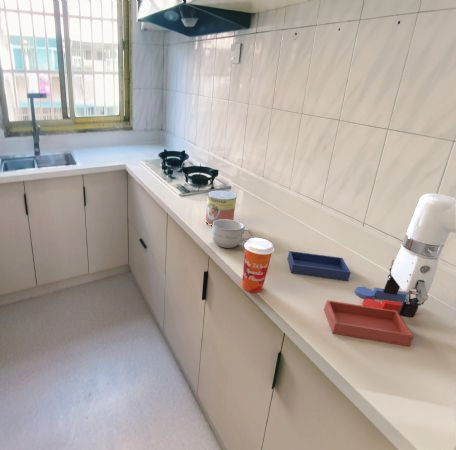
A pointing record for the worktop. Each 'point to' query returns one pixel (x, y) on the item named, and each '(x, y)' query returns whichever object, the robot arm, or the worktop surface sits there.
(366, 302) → the red spoon
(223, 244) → the teacup
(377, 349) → the worktop surface
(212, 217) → the canned food
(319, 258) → the blue tray
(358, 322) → the red tray
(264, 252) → the paper cup
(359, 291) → the blue spoon
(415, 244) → the robot arm
